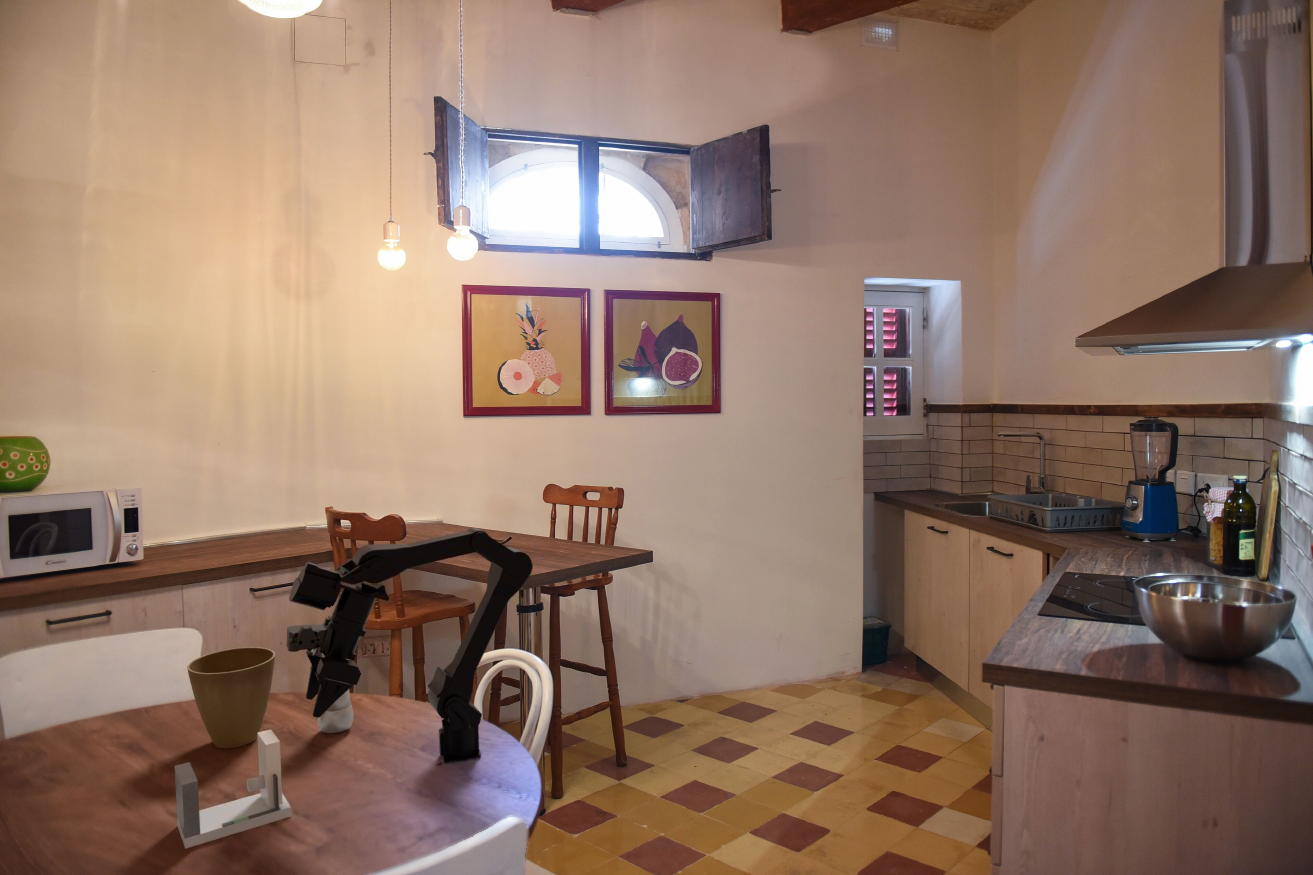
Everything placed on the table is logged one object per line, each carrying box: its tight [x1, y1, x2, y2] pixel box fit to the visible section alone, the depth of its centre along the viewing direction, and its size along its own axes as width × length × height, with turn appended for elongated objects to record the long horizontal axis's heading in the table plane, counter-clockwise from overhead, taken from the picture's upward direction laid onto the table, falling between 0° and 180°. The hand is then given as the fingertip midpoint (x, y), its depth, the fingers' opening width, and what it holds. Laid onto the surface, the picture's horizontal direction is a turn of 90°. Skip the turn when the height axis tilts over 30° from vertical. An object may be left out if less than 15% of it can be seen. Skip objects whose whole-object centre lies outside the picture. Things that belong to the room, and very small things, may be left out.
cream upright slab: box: [246, 729, 283, 809], centre depth 128 cm, size 4×7×10 cm, turn 37°
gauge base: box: [176, 792, 292, 850], centre depth 126 cm, size 14×8×2 cm, turn 127°
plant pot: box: [186, 646, 276, 749], centre depth 156 cm, size 15×15×16 cm
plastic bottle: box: [317, 659, 355, 734], centre depth 160 cm, size 6×7×20 cm
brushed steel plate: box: [174, 761, 200, 839], centre depth 122 cm, size 2×8×8 cm, turn 37°
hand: (312, 707), depth 136 cm, fingers open, 9 cm apart
